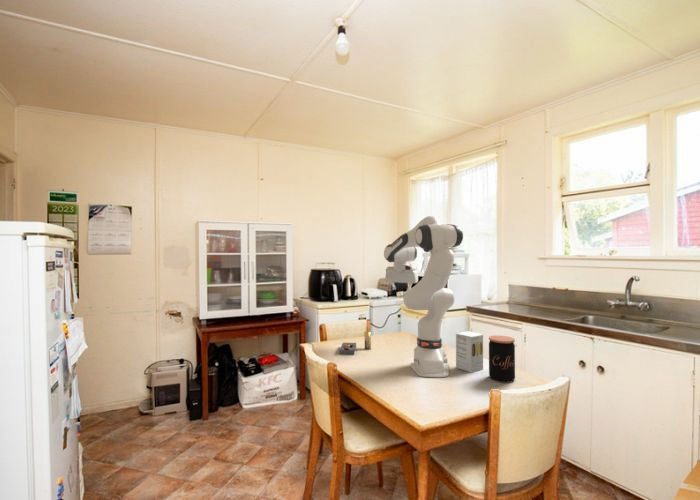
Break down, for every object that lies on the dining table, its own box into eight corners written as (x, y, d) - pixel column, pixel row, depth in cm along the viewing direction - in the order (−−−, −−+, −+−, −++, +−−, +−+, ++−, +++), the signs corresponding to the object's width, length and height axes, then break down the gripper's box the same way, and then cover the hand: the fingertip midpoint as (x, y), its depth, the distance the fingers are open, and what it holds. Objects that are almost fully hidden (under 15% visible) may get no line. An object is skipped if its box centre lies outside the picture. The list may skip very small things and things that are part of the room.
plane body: (353, 354, 194) (353, 345, 194) (339, 354, 195) (339, 345, 195) (356, 347, 210) (356, 338, 210) (343, 346, 211) (342, 338, 211)
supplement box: (471, 373, 164) (470, 336, 164) (455, 367, 172) (455, 333, 172) (484, 369, 169) (483, 334, 169) (468, 364, 177) (467, 330, 177)
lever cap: (370, 350, 204) (370, 332, 204) (364, 349, 204) (364, 332, 204) (370, 348, 207) (370, 331, 207) (364, 348, 207) (364, 331, 208)
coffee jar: (490, 381, 153) (489, 340, 153) (488, 373, 163) (487, 334, 163) (517, 384, 150) (516, 342, 150) (513, 375, 160) (512, 336, 160)
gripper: (383, 266, 211) (383, 289, 211) (414, 267, 199) (414, 291, 199) (388, 266, 216) (388, 288, 216) (419, 266, 204) (419, 290, 204)
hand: (401, 290), depth 208 cm, fingers open, 8 cm apart
